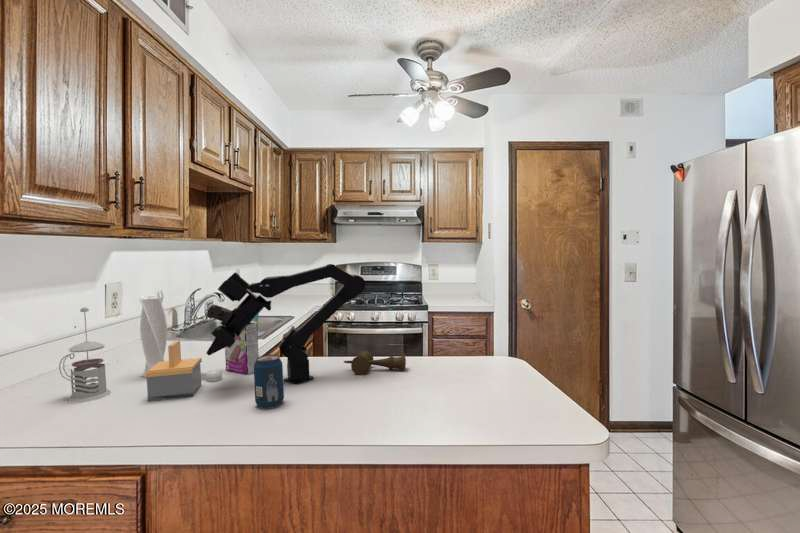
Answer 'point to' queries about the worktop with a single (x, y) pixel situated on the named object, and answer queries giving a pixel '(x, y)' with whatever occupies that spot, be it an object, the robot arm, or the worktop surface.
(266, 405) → the soda can
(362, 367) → the kendama
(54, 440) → the worktop surface
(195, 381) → the housing
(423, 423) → the worktop surface
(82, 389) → the french press
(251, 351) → the candy bar box
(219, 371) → the ball with square handle
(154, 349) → the skyscraper
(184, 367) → the lid
